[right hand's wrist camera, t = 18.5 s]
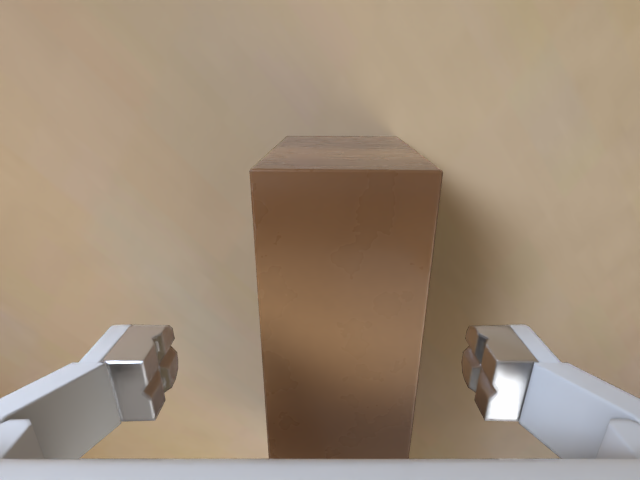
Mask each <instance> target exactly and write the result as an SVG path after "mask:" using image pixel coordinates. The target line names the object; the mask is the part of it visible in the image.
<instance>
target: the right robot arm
mask: <svg viewBox="0 0 640 480" xmlns="http://www.w3.org/2000/svg"><path fill="white" fill-rule="evenodd" d="M174 339H175V338H174V333H173V328H172V327H170V326H169V325H113V326H111V327H110V328H109V329H108V330H107V331H106V332H105V333H104V335H103V336H102V337H101V338H100V339H99V340H98V341H97V342H96V344H95V345H94V346H93V347H92V348H91V349H90V350H89V351H88V353H87V354H86V355H85V356H84V357H83V358H82V359H81V360H80V361H79V363H71V364H69V365H67V366H65V367H63V368H61V369H59V370H57V371H55V372H53V373H51V374H49V375H47V376H45V377H43V378H41V379H39V380H37V381H35V382H33V383H31V384H28V385H26V386H24V387H22V388H20V389H18V390H16V391H14V392H12V393H10V394H8V395H6V396H4V397H2V398H0V480H640V399H639V398H637V397H635V396H633V395H631V394H629V393H627V392H625V391H623V390H621V389H619V388H617V387H615V386H613V385H611V384H609V383H607V382H605V381H603V380H601V379H599V378H597V377H595V376H593V375H591V374H589V373H587V372H585V371H583V370H581V369H579V368H577V367H575V366H573V365H571V364H569V363H561V362H560V360H559V359H558V358H557V357H556V356H555V355H554V354H553V353H552V351H551V350H550V349H549V348H548V347H547V346H546V345H545V344H544V342H543V341H542V340H541V339H540V338H539V337H538V336H537V335H536V333H535V332H534V331H533V330H532V329H531V328H530V327H529V326H527V325H525V324H519V325H493V326H469V327H468V329H467V332H466V338H465V339H466V341H467V342H468V344H469V347H468V348H467V349H466V350H465V351H464V352H463V356H462V372H463V376H464V379H465V382H466V384H467V386H468V388H470V389H471V390H473V391H474V392H475V393H476V395H475V402H476V404H477V406H478V408H479V410H480V412H481V414H482V416H483V418H484V420H485V421H519V424H520V425H522V426H523V427H524V428H525V429H526V430H528V431H529V432H530V433H531V434H532V435H534V436H535V437H536V438H537V439H538V440H540V441H541V442H542V443H543V444H544V445H546V446H547V447H548V448H549V449H550V450H551V451H553V452H554V453H555V454H556V455H557V456H559V457H560V458H561V459H79V458H80V457H81V456H83V455H84V454H85V453H86V452H87V451H89V450H90V449H91V448H92V447H93V446H95V445H96V444H97V443H98V442H99V441H101V440H102V439H103V438H104V437H105V436H107V435H108V434H109V433H110V432H111V431H113V430H114V429H115V428H116V427H117V426H119V425H120V424H121V421H154V420H156V418H157V416H158V414H159V412H160V410H161V408H162V406H163V404H164V402H165V395H164V392H166V391H167V390H169V389H170V388H172V386H173V384H174V382H175V380H176V376H177V371H178V356H177V352H176V351H175V350H174V349H173V348H172V347H171V344H172V342H173V341H174Z"/></svg>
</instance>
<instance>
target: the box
mask: <svg viewBox="0 0 640 480" xmlns="http://www.w3.org/2000/svg"><path fill="white" fill-rule="evenodd" d="M442 177H443V172H442V170H441V169H439V168H438V167H437V166H435V165H434V164H433V163H431V162H430V161H429V160H427V159H426V158H425V157H423V156H422V155H421V154H419V153H418V152H417V151H415V150H414V149H413V148H411V147H410V146H409V145H407V144H406V143H405V142H403V141H402V140H401V139H399V138H398V137H345V136H287V137H285V138H284V139H283V140H282V141H281V142H280V143H279V144H278V145H277V146H275V147H274V148H273V149H272V150H271V151H270V152H269V153H268V154H267V155H265V156H264V157H263V158H262V159H261V160H260V161H259V162H258V163H257V164H255V165H254V166H253V167H252V168H251V169H250V184H251V199H252V214H253V229H254V244H255V259H256V274H257V289H258V303H259V318H260V333H261V348H262V363H263V378H264V393H265V408H266V423H267V438H268V453H269V459H409V451H410V443H411V435H412V426H413V418H414V410H415V401H416V393H417V385H418V376H419V368H420V360H421V351H422V343H423V335H424V326H425V318H426V310H427V301H428V293H429V285H430V276H431V268H432V260H433V251H434V243H435V235H436V226H437V218H438V210H439V202H440V193H441V185H442Z"/></svg>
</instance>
